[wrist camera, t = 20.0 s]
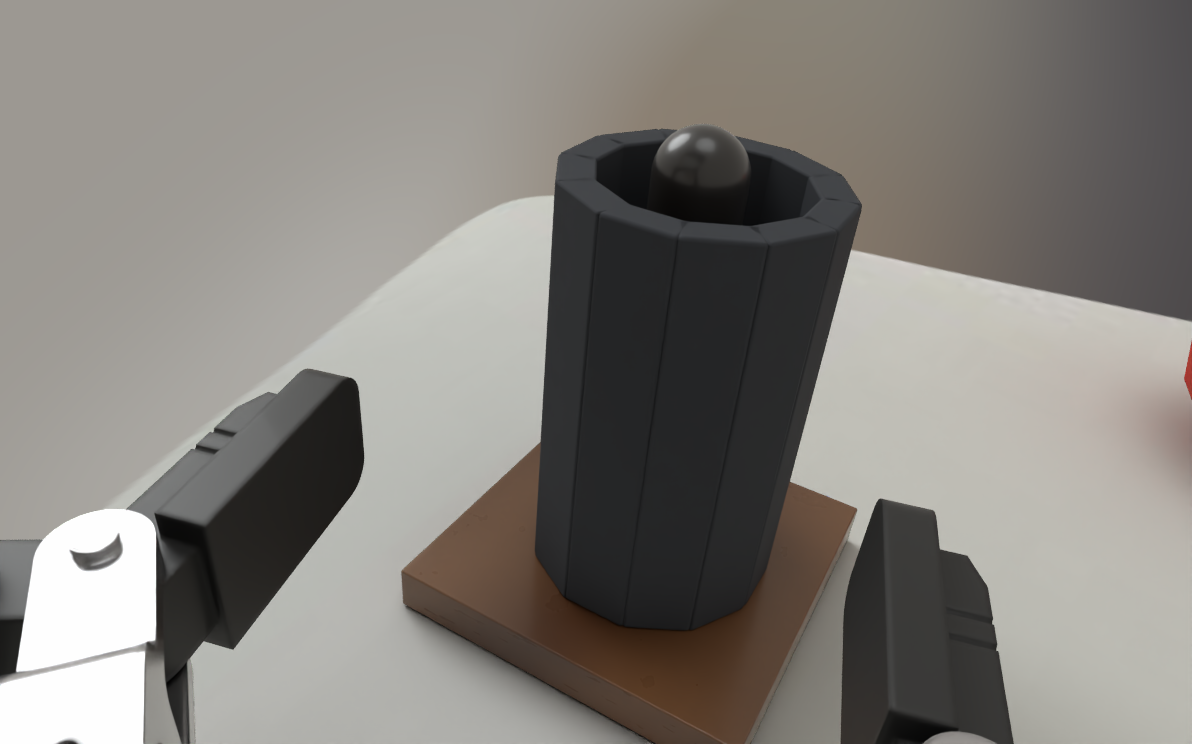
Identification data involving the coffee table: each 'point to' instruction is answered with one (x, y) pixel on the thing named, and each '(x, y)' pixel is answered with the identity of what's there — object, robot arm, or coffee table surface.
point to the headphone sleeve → (679, 378)
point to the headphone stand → (595, 644)
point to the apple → (1189, 372)
